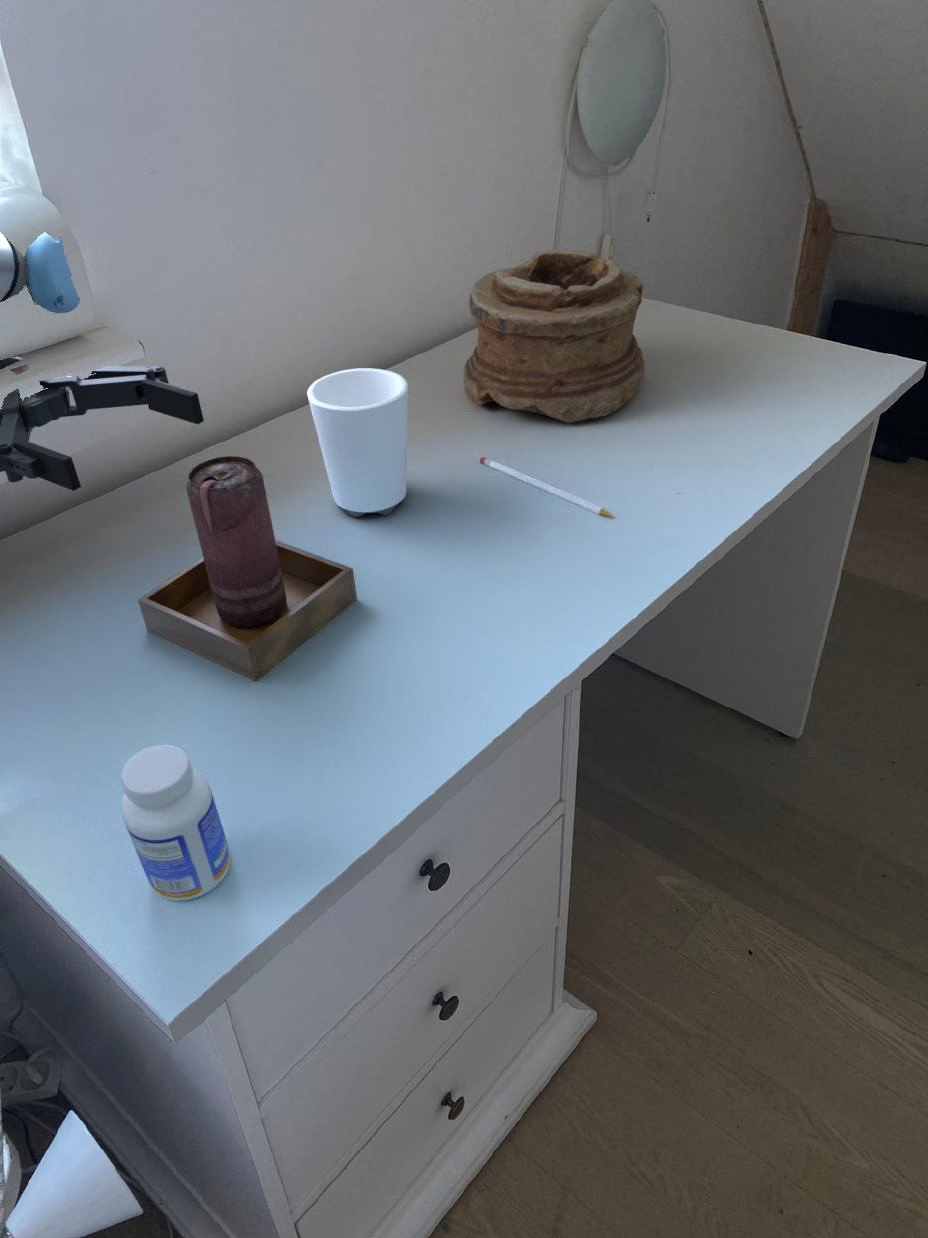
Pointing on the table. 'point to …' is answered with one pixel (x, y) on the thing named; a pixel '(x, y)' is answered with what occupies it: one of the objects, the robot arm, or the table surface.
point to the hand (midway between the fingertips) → (138, 439)
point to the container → (556, 336)
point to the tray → (196, 625)
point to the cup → (363, 437)
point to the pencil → (546, 487)
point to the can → (237, 540)
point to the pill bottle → (173, 823)
